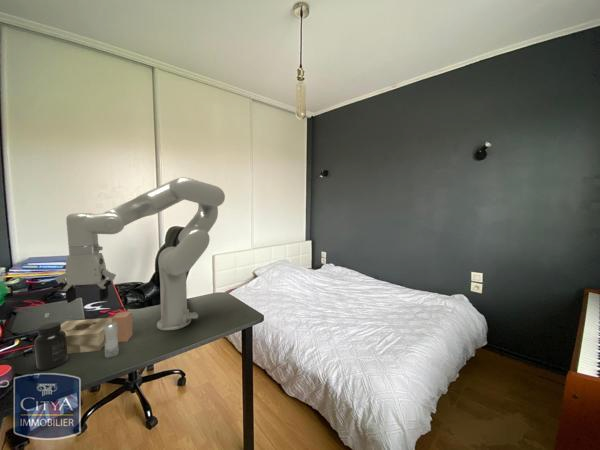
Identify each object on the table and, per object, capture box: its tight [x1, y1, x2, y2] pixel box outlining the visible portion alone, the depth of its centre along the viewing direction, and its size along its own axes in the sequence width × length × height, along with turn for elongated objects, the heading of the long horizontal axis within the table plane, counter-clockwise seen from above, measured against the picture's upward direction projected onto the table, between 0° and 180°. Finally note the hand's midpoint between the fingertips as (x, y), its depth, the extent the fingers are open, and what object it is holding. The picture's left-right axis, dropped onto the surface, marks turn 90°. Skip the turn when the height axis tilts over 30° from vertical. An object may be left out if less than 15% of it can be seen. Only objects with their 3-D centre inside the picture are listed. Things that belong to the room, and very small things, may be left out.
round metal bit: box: [104, 322, 119, 358], centre depth 81 cm, size 4×4×10 cm
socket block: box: [60, 317, 112, 355], centre depth 88 cm, size 16×12×6 cm
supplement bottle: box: [33, 322, 69, 371], centre depth 76 cm, size 7×7×12 cm
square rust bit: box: [111, 311, 134, 343], centre depth 91 cm, size 4×4×9 cm
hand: (88, 300), depth 85 cm, fingers open, 9 cm apart
